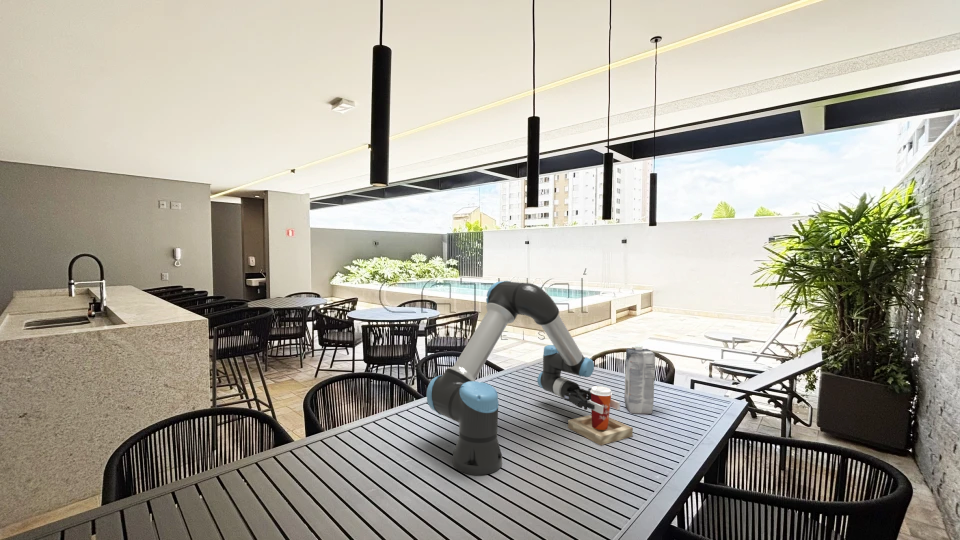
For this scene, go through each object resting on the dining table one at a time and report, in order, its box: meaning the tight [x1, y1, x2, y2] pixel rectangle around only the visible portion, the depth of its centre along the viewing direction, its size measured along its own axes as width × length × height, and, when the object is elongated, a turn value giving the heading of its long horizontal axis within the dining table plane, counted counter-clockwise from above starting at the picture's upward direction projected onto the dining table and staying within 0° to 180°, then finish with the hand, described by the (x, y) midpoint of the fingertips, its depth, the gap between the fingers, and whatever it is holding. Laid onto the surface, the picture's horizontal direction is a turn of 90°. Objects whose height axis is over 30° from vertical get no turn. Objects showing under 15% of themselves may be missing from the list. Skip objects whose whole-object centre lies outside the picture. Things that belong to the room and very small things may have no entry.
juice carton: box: [623, 345, 656, 415], centre depth 172 cm, size 9×10×27 cm
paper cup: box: [590, 385, 613, 430], centre depth 150 cm, size 8×8×14 cm
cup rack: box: [567, 414, 634, 446], centre depth 150 cm, size 16×16×3 cm
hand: (610, 408), depth 146 cm, fingers closed on paper cup, 8 cm apart
